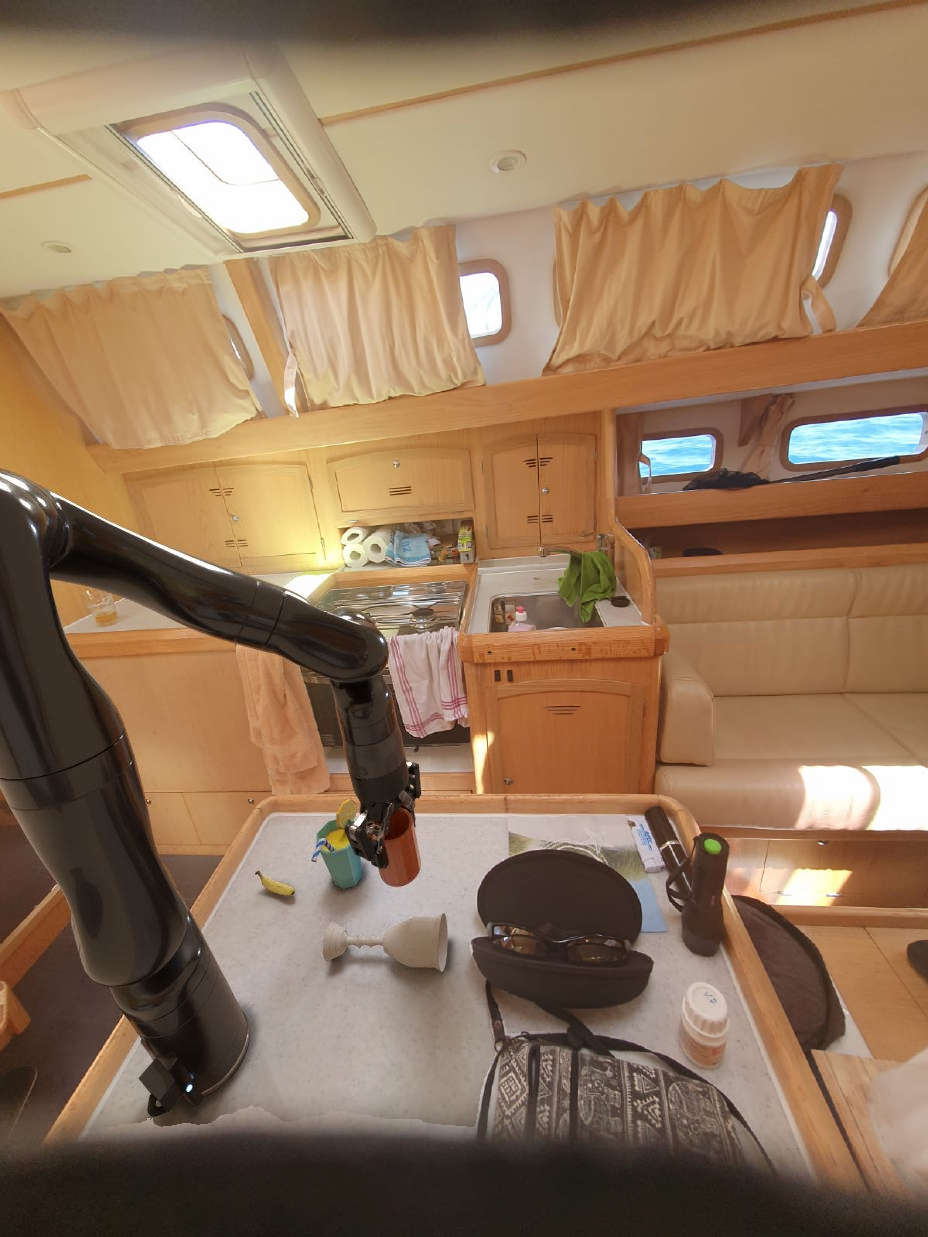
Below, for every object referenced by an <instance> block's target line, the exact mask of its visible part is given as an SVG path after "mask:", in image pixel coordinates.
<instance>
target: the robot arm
mask: <svg viewBox="0 0 928 1237" xmlns="http://www.w3.org/2000/svg"><path fill="white" fill-rule="evenodd" d="M51 580H52V581H59V582H63V583H69V584H74V585H78V586H83V587H87V588H90V589H94V590H98V591H101V592H105V593H108V594H111V595H115V596H117V597H120V598H123V599H124V600H125V599H126V600H129V601H130V602H133V603H135V604H138V605H140V606H142V607H144V608H147V609H149V610H151V611H153V612H155V613H157V614H158V615H161V616H163V617H165V618H167V619H169V620H170V621H171V620H172V621H173V622H175V623H177V624H179V625H182V626H184V627H187V628H189V629H191V630H193V631H195V632H197V633H200V634H204V635H206V636H208V637H212V638H215V639H217V640H220V641H224V642H227V643H230V644H234V645H237V646H242V647H244V648H247V649H251V650H255V651H259V652H263V653H266V654H267V653H268V654H273V655H276V656H279V657H280V658H283V659H285V660H286V661H288V662H291V663H293V664H294V665H296V666H299V667H300V668H303V669H305V670H307V671H310V672H312V673H314V674H316V675H318V676H320V677H322V678H323V677H324V678H325V679H328V683H329V686H330V689H331V691H332V695H333V700H334V704H335V714H336V719H337V723H338V726H339V729H340V733H341V734H340V735H341V739H342V748H343V755H344V758H345V762H346V766H347V771H348V774H349V777H350V782H351V785H352V790H353V792H354V794H355V796H356V798H357V799H358V801H359V816H358V817H357V819H356V820H354V821H355V823H354V824H352V823H347V824H346V826H345V828H344V831H345V834H346V836H347V838H348V840H349V843H350V845H351V847H352V849H353V852H354V854H355V855H357V856H360V857H361V858H362V859H364V860H366V862H367V861H368V862H370V864H371V865H372V866H373V867H375V868H377V869H378V868H379V869H386V868H387V866H388V865H389V863H388V859H387V855H386V850H385V847H384V840H385V835H387V834H388V833H389V826H390V819H391V818H392V816H393V814H394V813H395V812H396V811H397V810H398V809H399V808H400V807H401V808H404V809H407V810H408V811H409V812H410V813H411V814H412V817H413V822H414V827H415V828H416V826H417V825H416V819H417V818H416V814H415V808H416V800H417V799H418V800H419V799H420V798H421V796H422V783H421V771H420V763H417V762H414V761H410V760H408V759H407V755H406V751H405V745H404V739H403V735H402V731H401V729H400V726H399V723H398V718H397V712H396V709H395V708H396V707H395V703H394V699H393V695H392V691H391V689H390V687H389V685H388V684H387V682H386V680H385V677H384V675H383V672H384V670H385V669H386V667H387V666H388V662H389V660H390V659H389V658H390V650H389V645H388V644H389V643H388V641H387V639H386V637H385V636H384V634H383V633H382V632H381V630H380V628H378V627H377V625H376V624H375V623H374V622H373V620H372V619H371V618H370V617H369V616H368V615H367V614H366V613H365V612H363V611H361V610H359V609H357V608H355V607H351V606H350V607H349V606H341V607H338V608H335V609H332V610H330V611H327V610H324V609H321V608H319V607H318V606H315V605H313V604H312V603H311V602H310V601H309V600H308V599H307V598H305V597H304V596H303V595H301V594H299V593H297V592H295V591H293V590H291V589H288V588H286V587H283V586H281V585H278V584H275V583H272V582H269V581H267V580H264V579H261V578H258V577H255V576H252V575H250V574H248V573H244V572H241V571H239V570H238V571H237V570H235V569H232V568H229V567H227V566H225V565H221V564H219V563H215V562H213V561H209V560H207V559H204V558H201V557H198V556H195V555H192V554H190V553H186V552H184V551H182V550H178V549H176V548H173V547H170V546H168V545H166V544H163V543H161V542H157V541H155V540H152V539H150V538H148V537H146V536H144V535H141V534H139V533H136V532H134V531H133V530H131V529H127V528H125V527H123V526H121V525H119V524H116V523H115V522H112V521H111V520H108V519H107V518H104V517H102V516H100V515H98V514H96V513H94V512H93V511H90V510H88V509H86V508H84V507H82V506H80V505H78V504H77V503H75V502H73V501H71V500H69V499H67V498H65V497H64V496H61V495H59V494H58V493H56V492H54V491H52V490H51V489H49V488H46V487H45V486H43V485H41V484H38V483H37V482H35V481H33V480H32V479H29V478H27V477H26V476H23V475H21V474H19V473H17V472H15V471H11V470H9V469H6V468H1V467H0V790H1V793H2V794H3V797H4V799H5V801H6V803H7V805H8V807H9V809H10V811H11V813H12V814H13V816H14V817H15V820H16V821H17V823H18V824H19V826H20V828H21V830H22V832H23V834H24V835H25V837H26V839H27V841H28V842H29V843H30V845H31V847H32V849H33V850H34V852H35V853H36V855H37V856H38V858H39V859H40V861H41V863H42V864H43V865H44V867H45V868H46V869H47V871H48V873H49V874H50V875H51V877H52V878H53V880H54V881H55V882H56V884H57V886H58V887H59V889H60V890H61V893H62V894H63V896H64V898H65V900H66V902H67V905H68V907H69V910H70V927H71V931H72V935H73V938H74V941H75V946H76V949H77V953H78V957H79V961H80V963H81V967H82V969H83V971H84V972H85V973H86V975H87V977H88V978H89V979H91V981H93V982H94V983H96V984H98V985H99V986H103V987H107V988H108V989H109V991H110V994H111V996H112V998H113V1000H114V1002H115V1003H116V1006H117V1007H118V1009H119V1010H120V1011H121V1013H122V1014H123V1016H124V1017H125V1019H126V1020H127V1021H128V1022H129V1024H130V1025H131V1027H132V1028H133V1030H134V1031H135V1032H136V1034H137V1035H138V1036H139V1038H140V1040H139V1041H140V1044H141V1045H142V1047H143V1048H144V1050H145V1051H146V1053H147V1054H148V1056H149V1057H150V1058H151V1059H152V1062H151V1063H150V1064H149V1065H148V1066H147V1067H146V1068H145V1070H144V1071H143V1072H142V1073H141V1074H140V1076H138V1080H139V1082H141V1084H142V1085H143V1087H144V1088H145V1089H146V1090H147V1091H148V1093H149V1094H150V1095H149V1096H148V1102H147V1108H146V1110H147V1114H148V1116H149V1117H150V1118H157V1117H160V1116H162V1115H165V1114H168V1113H170V1112H171V1111H172V1110H173V1109H174V1107H175V1106H176V1105H177V1103H178V1102H179V1101H180V1099H181V1098H182V1097H183V1098H184V1099H185V1100H187V1101H188V1102H189V1103H190V1105H192V1107H197V1105H199V1103H200V1102H201V1100H202V1099H203V1098H204V1097H206V1096H209V1095H210V1094H212V1093H214V1092H215V1091H216V1090H218V1089H219V1088H220V1087H222V1086H223V1085H224V1084H225V1083H226V1082H227V1081H228V1080H229V1079H230V1078H231V1077H232V1076H233V1074H235V1072H236V1070H238V1067H239V1066H240V1064H241V1063H242V1061H243V1059H244V1057H245V1055H246V1052H247V1050H248V1047H249V1043H250V1039H251V1025H250V1021H249V1018H248V1017H247V1015H246V1013H245V1012H244V1011H243V1008H242V1007H241V1005H240V1003H239V1002H238V999H237V998H236V996H235V994H234V992H233V990H232V988H231V986H230V984H229V982H228V980H227V978H226V976H225V975H224V972H223V971H222V969H221V967H220V965H219V963H218V961H217V960H216V957H215V955H214V954H213V952H212V950H211V948H210V945H209V944H208V942H207V940H206V938H205V936H204V934H203V932H202V930H201V928H200V926H199V924H198V922H197V921H196V919H195V917H194V915H193V913H192V912H191V910H190V908H189V907H188V906H189V905H187V901H186V899H185V898H184V896H183V894H182V892H181V890H180V889H179V887H178V884H177V883H176V881H175V880H174V877H173V875H172V874H171V872H170V869H168V867H167V865H165V864H164V863H163V861H162V858H161V856H160V854H159V851H158V848H157V845H156V841H155V837H154V833H153V828H152V823H151V818H150V811H149V806H148V802H147V798H146V794H145V789H144V785H143V781H142V778H141V775H140V774H141V773H140V771H139V766H138V763H137V759H136V755H135V752H134V749H133V746H132V743H131V740H130V737H129V734H128V732H127V727H126V725H125V723H124V720H123V717H122V715H121V713H120V711H119V709H118V707H117V705H116V704H115V702H114V700H113V699H112V697H111V696H110V695H109V693H108V692H107V690H106V689H105V688H104V687H103V685H102V684H101V683H100V682H99V681H98V680H97V679H96V677H95V676H94V675H93V674H92V673H91V672H90V670H88V668H87V667H86V666H85V664H84V663H83V662H82V661H81V660H80V659H79V657H78V655H77V653H76V652H75V651H74V649H73V648H72V646H71V645H72V644H70V642H69V639H68V637H67V635H66V633H65V632H66V631H65V629H64V627H63V623H62V621H61V616H60V613H59V610H58V606H57V602H56V599H55V596H54V591H53V587H52V583H51ZM373 822H376V823H379V824H381V826H378V825H376V824H374V823H373ZM373 835H376V837H377V840H376V841H375V840H373ZM379 869H378V870H379ZM157 1102H158V1103H159V1104H160V1105H159V1106H157Z"/></svg>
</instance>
